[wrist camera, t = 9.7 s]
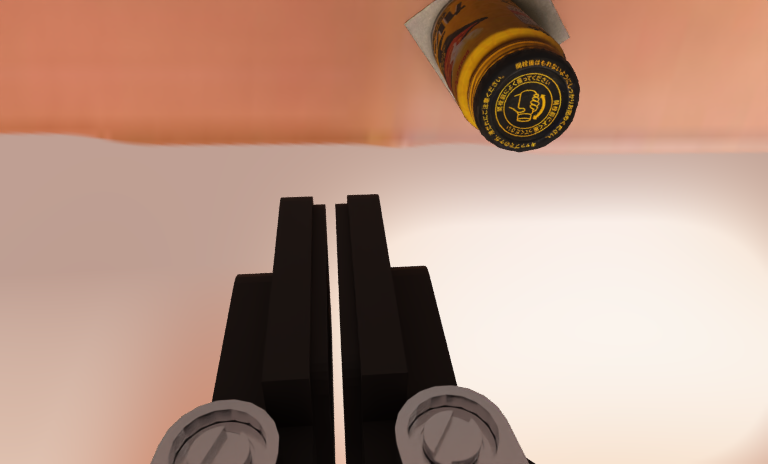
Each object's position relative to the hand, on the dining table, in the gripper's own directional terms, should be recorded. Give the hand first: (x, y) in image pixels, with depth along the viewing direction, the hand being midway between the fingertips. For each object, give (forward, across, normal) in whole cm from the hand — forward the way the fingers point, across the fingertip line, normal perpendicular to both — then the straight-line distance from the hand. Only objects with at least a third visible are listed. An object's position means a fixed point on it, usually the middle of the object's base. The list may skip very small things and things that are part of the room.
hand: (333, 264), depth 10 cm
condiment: (+29, -11, +4) cm, 32 cm away
